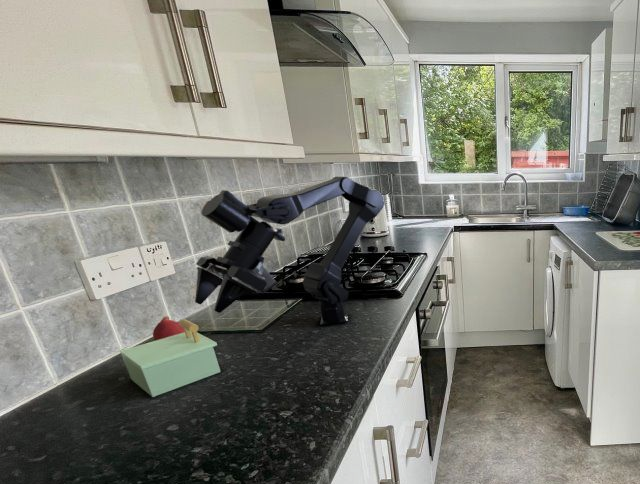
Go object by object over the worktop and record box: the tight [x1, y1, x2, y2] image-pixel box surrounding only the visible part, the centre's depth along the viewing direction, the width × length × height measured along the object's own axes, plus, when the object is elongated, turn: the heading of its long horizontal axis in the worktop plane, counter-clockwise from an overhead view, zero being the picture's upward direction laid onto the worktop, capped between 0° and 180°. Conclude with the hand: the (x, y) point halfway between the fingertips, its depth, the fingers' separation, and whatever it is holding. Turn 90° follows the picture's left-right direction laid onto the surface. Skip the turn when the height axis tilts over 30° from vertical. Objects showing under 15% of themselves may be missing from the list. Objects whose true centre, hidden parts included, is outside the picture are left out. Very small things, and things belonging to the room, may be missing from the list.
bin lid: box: [119, 319, 218, 370], centre depth 80 cm, size 12×11×4 cm
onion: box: [152, 315, 185, 341], centre depth 93 cm, size 6×6×8 cm
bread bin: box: [120, 347, 221, 398], centre depth 82 cm, size 11×11×6 cm
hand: (207, 307), depth 85 cm, fingers open, 9 cm apart
